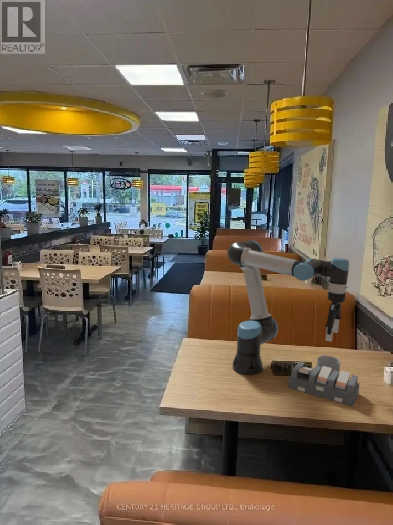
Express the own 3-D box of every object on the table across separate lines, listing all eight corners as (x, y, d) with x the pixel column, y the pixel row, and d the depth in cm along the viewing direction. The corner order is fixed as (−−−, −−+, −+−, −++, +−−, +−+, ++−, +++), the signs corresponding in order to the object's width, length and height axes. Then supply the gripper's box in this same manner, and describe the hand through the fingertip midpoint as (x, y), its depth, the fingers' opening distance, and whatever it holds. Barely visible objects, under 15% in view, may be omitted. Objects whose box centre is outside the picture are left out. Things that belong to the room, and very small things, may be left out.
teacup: (340, 381, 182) (342, 365, 181) (317, 378, 185) (318, 362, 183) (336, 368, 196) (337, 354, 195) (314, 366, 198) (315, 351, 197)
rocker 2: (316, 382, 169) (316, 379, 168) (322, 368, 176) (322, 365, 176) (325, 384, 167) (325, 381, 166) (331, 370, 174) (331, 367, 174)
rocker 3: (335, 387, 165) (335, 384, 164) (340, 373, 172) (340, 370, 171) (345, 390, 162) (345, 386, 162) (350, 375, 170) (350, 372, 169)
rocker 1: (299, 371, 172) (299, 368, 172) (304, 370, 181) (305, 366, 181) (307, 374, 170) (308, 370, 170) (313, 372, 178) (313, 368, 179)
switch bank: (287, 387, 174) (289, 370, 173) (297, 377, 185) (298, 360, 184) (352, 406, 159) (354, 387, 158) (358, 393, 170) (360, 375, 169)
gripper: (340, 299, 161) (334, 346, 165) (350, 288, 182) (345, 330, 186) (322, 296, 165) (317, 342, 168) (334, 285, 186) (329, 327, 189)
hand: (331, 336), depth 177 cm, fingers open, 13 cm apart
